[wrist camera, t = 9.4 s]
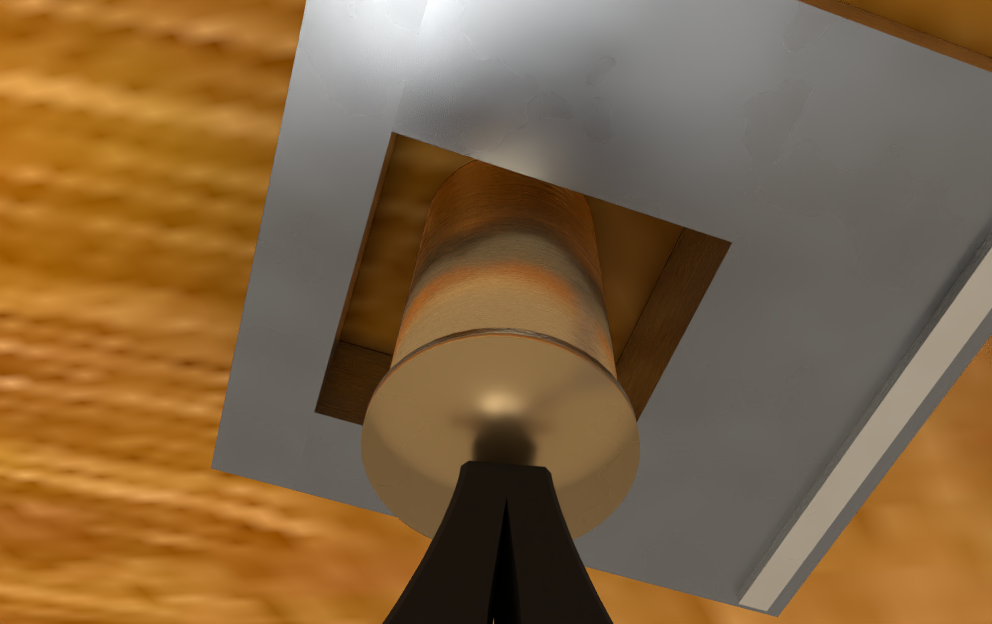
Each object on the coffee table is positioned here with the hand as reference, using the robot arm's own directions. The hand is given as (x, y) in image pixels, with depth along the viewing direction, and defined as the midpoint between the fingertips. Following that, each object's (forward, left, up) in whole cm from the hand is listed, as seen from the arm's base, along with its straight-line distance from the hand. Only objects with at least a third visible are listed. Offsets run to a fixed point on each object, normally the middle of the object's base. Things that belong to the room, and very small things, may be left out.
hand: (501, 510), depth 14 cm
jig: (-2, -1, -8) cm, 9 cm away
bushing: (0, -1, -8) cm, 8 cm away
